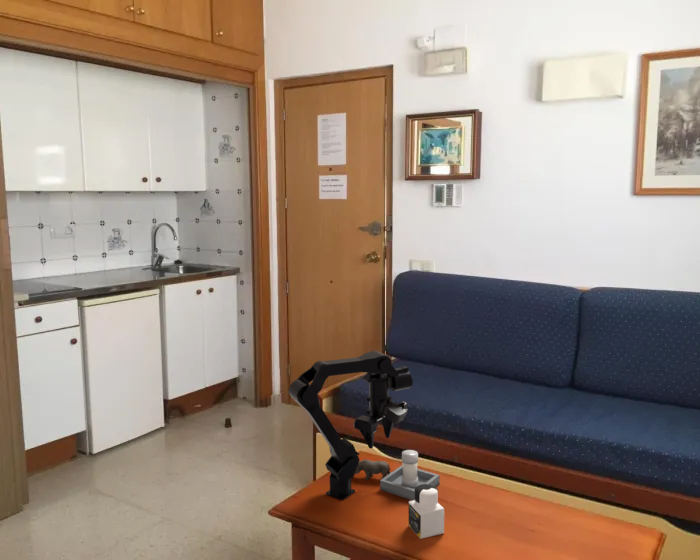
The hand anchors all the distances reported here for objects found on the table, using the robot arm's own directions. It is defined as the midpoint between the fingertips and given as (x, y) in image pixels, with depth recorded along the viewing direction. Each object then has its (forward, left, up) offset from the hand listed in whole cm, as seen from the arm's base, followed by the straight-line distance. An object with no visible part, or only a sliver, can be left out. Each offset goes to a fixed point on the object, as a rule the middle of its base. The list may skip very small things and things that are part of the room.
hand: (379, 442), depth 195 cm
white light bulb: (+3, -9, -12) cm, 15 cm away
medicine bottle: (-15, -25, -13) cm, 32 cm away
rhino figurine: (+1, +5, -13) cm, 14 cm away
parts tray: (+3, -9, -13) cm, 16 cm away
